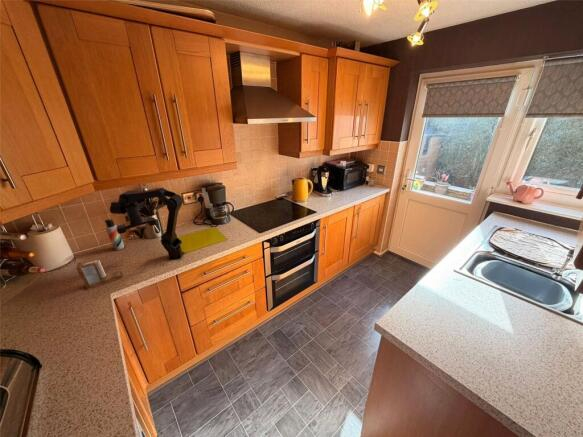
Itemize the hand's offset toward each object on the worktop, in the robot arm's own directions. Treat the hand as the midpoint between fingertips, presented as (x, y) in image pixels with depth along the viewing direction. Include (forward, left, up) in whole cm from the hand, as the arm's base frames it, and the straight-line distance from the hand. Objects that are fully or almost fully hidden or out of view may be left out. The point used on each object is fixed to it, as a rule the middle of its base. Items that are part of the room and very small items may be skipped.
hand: (141, 238), depth 133 cm
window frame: (+11, +22, -12) cm, 27 cm away
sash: (+13, +22, -10) cm, 27 cm away
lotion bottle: (+22, -10, -12) cm, 27 cm away
